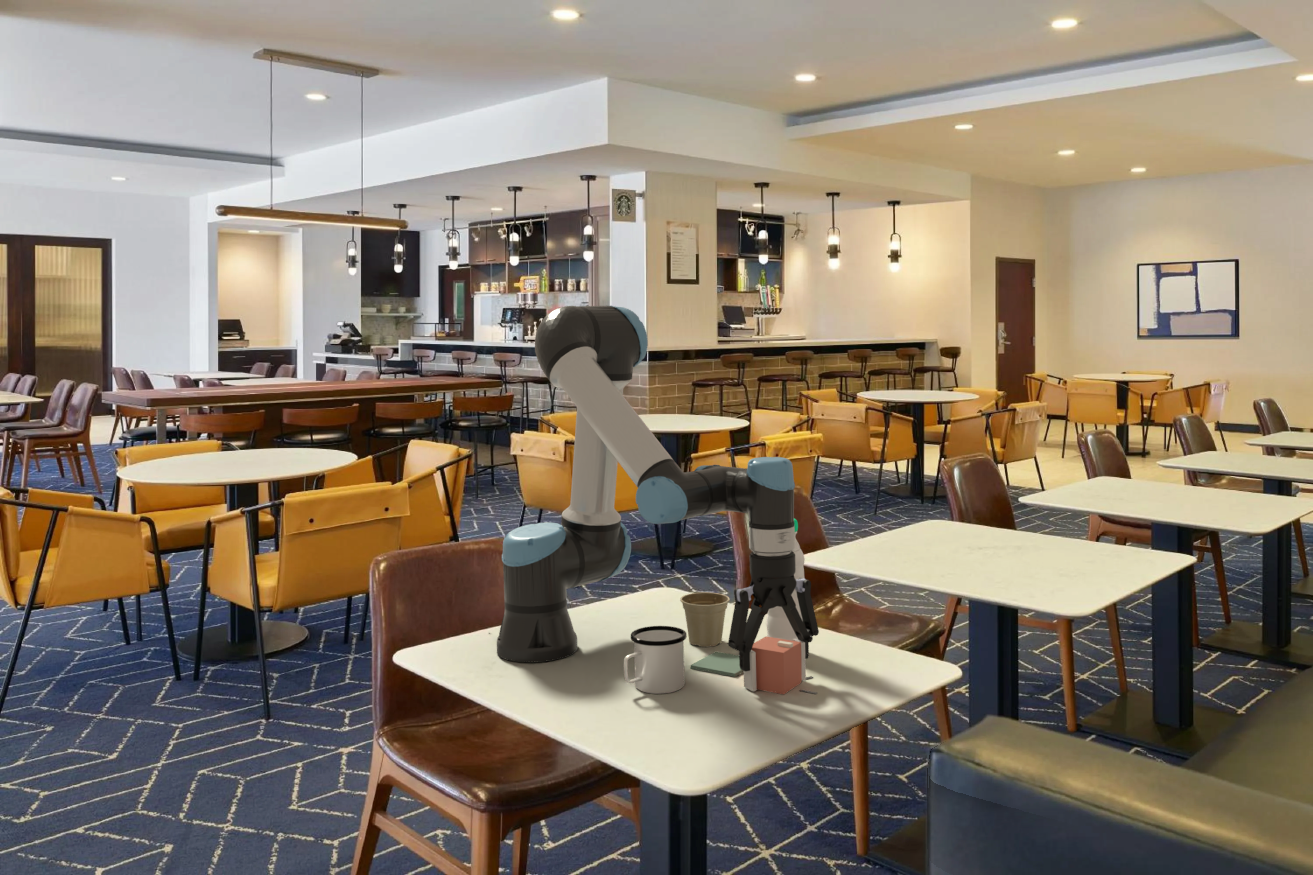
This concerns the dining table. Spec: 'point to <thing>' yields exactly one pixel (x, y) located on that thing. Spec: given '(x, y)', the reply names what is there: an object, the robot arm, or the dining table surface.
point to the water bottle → (776, 616)
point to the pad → (719, 664)
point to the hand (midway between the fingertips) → (775, 683)
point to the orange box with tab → (777, 664)
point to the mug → (657, 659)
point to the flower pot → (705, 617)
